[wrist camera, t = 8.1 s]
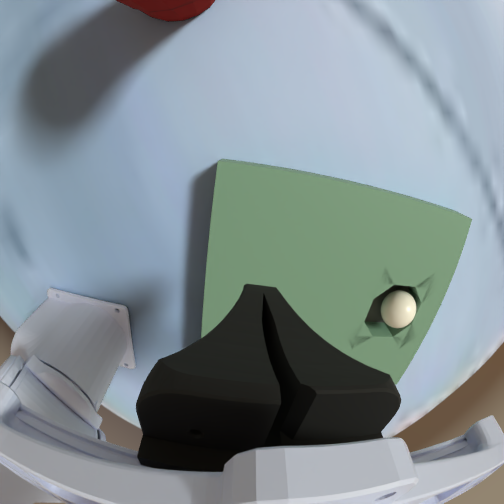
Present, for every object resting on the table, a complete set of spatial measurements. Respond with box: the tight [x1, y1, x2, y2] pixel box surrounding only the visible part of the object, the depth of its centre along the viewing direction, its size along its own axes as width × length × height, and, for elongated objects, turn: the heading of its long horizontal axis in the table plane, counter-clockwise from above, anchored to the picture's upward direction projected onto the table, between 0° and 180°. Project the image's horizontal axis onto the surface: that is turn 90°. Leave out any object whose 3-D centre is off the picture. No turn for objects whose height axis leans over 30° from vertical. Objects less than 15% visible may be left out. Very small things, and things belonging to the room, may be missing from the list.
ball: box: [381, 290, 416, 328], centre depth 21 cm, size 3×3×3 cm
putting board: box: [201, 159, 472, 384], centre depth 21 cm, size 20×18×2 cm
